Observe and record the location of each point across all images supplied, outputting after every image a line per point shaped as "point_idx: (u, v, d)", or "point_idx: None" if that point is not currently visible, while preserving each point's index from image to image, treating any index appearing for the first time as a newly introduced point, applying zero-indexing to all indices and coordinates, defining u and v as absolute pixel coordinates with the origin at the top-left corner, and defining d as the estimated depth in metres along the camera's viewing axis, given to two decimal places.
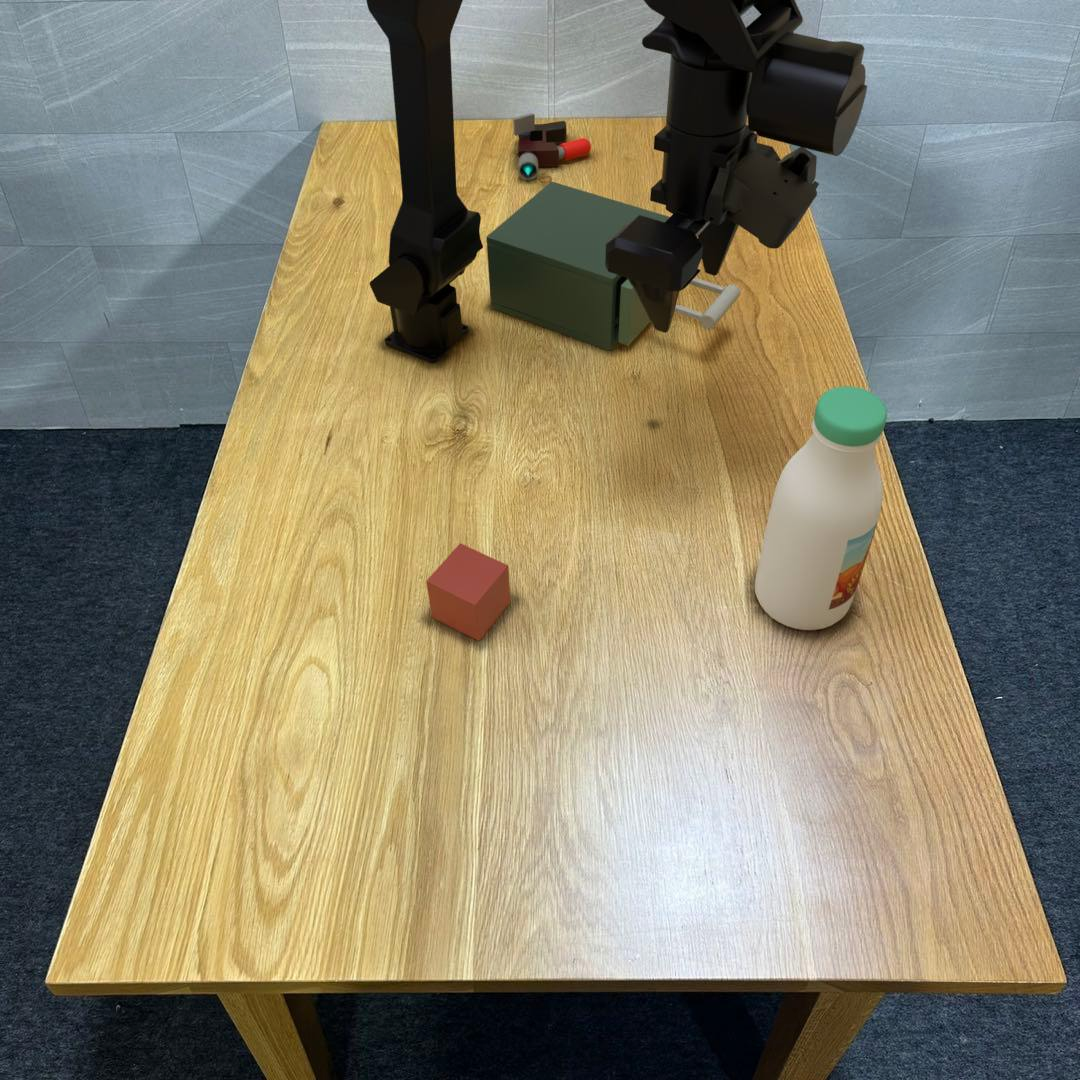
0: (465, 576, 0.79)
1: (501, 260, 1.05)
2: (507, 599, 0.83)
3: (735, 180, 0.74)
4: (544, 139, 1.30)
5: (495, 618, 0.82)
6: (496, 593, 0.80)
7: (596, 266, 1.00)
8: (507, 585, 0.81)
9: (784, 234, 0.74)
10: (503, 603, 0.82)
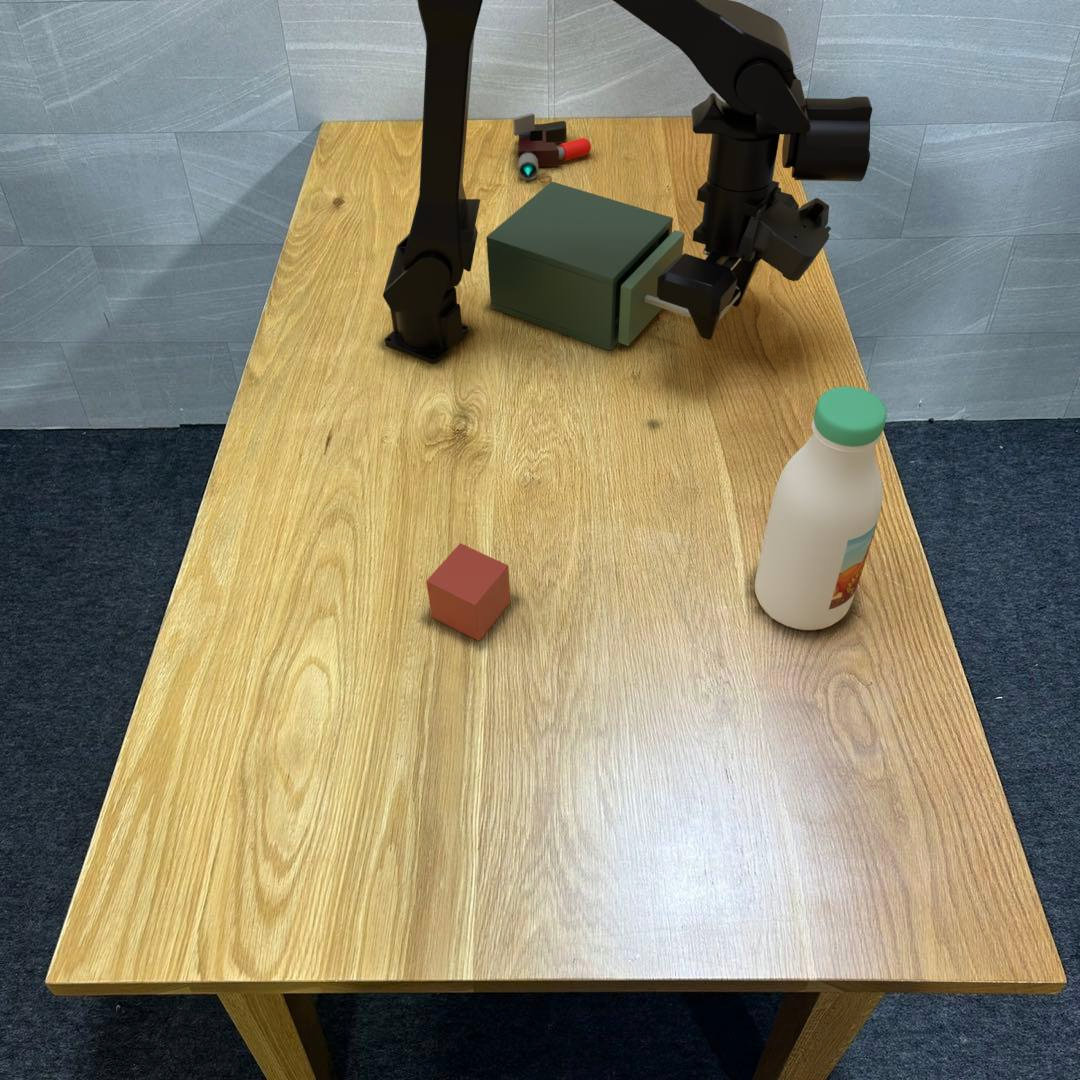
0: (465, 576, 0.79)
1: (501, 260, 1.05)
2: (507, 599, 0.83)
3: (763, 226, 0.91)
4: (544, 139, 1.30)
5: (495, 618, 0.82)
6: (496, 593, 0.80)
7: (596, 266, 1.00)
8: (507, 585, 0.81)
9: (803, 269, 0.92)
10: (503, 603, 0.82)
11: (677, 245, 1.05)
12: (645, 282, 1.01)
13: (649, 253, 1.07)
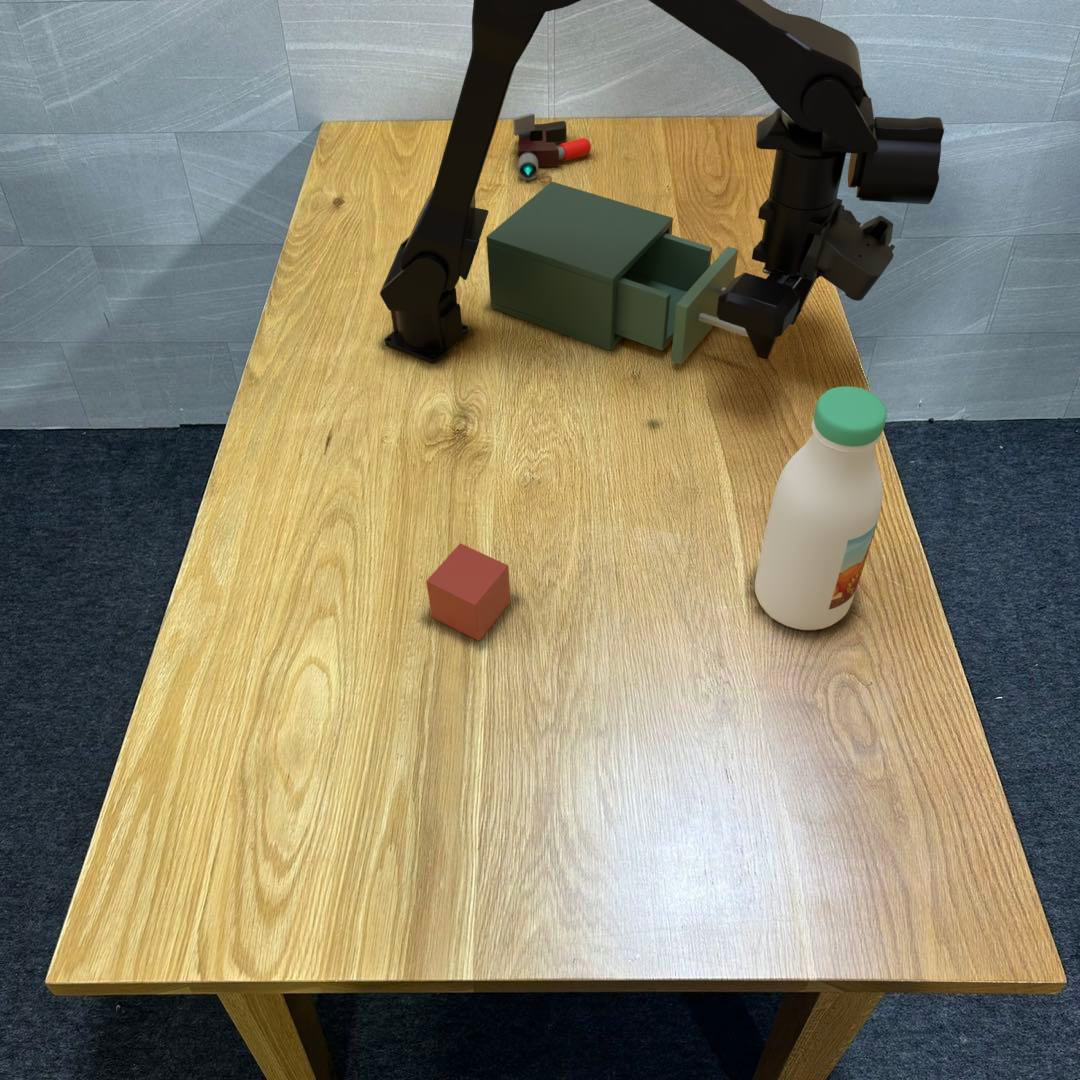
0: (465, 576, 0.79)
1: (501, 260, 1.05)
2: (507, 599, 0.83)
3: (827, 245, 0.89)
4: (544, 139, 1.30)
5: (495, 618, 0.82)
6: (496, 593, 0.80)
7: (596, 266, 1.00)
8: (507, 585, 0.81)
9: (867, 289, 0.90)
10: (503, 603, 0.82)
11: (731, 262, 1.03)
12: (700, 300, 0.99)
13: (701, 269, 1.05)
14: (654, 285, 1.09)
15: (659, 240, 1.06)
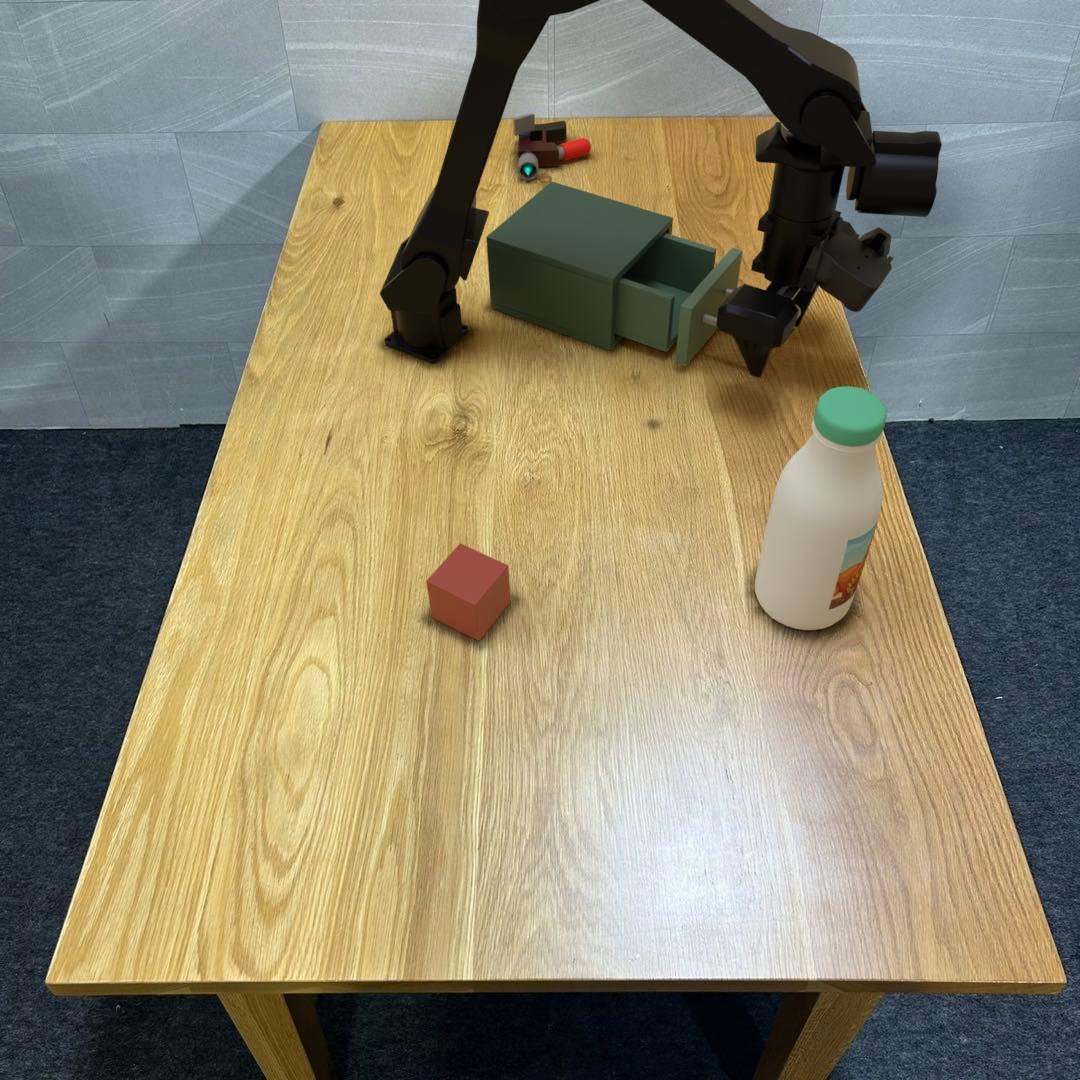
0: (465, 576, 0.79)
1: (501, 260, 1.05)
2: (507, 599, 0.83)
3: (826, 257, 0.90)
4: (544, 139, 1.30)
5: (495, 618, 0.82)
6: (496, 593, 0.80)
7: (596, 266, 1.00)
8: (507, 585, 0.81)
9: (865, 301, 0.90)
10: (503, 603, 0.82)
11: (735, 263, 1.02)
12: (704, 301, 0.99)
13: (705, 271, 1.05)
14: (658, 286, 1.09)
15: (663, 241, 1.05)
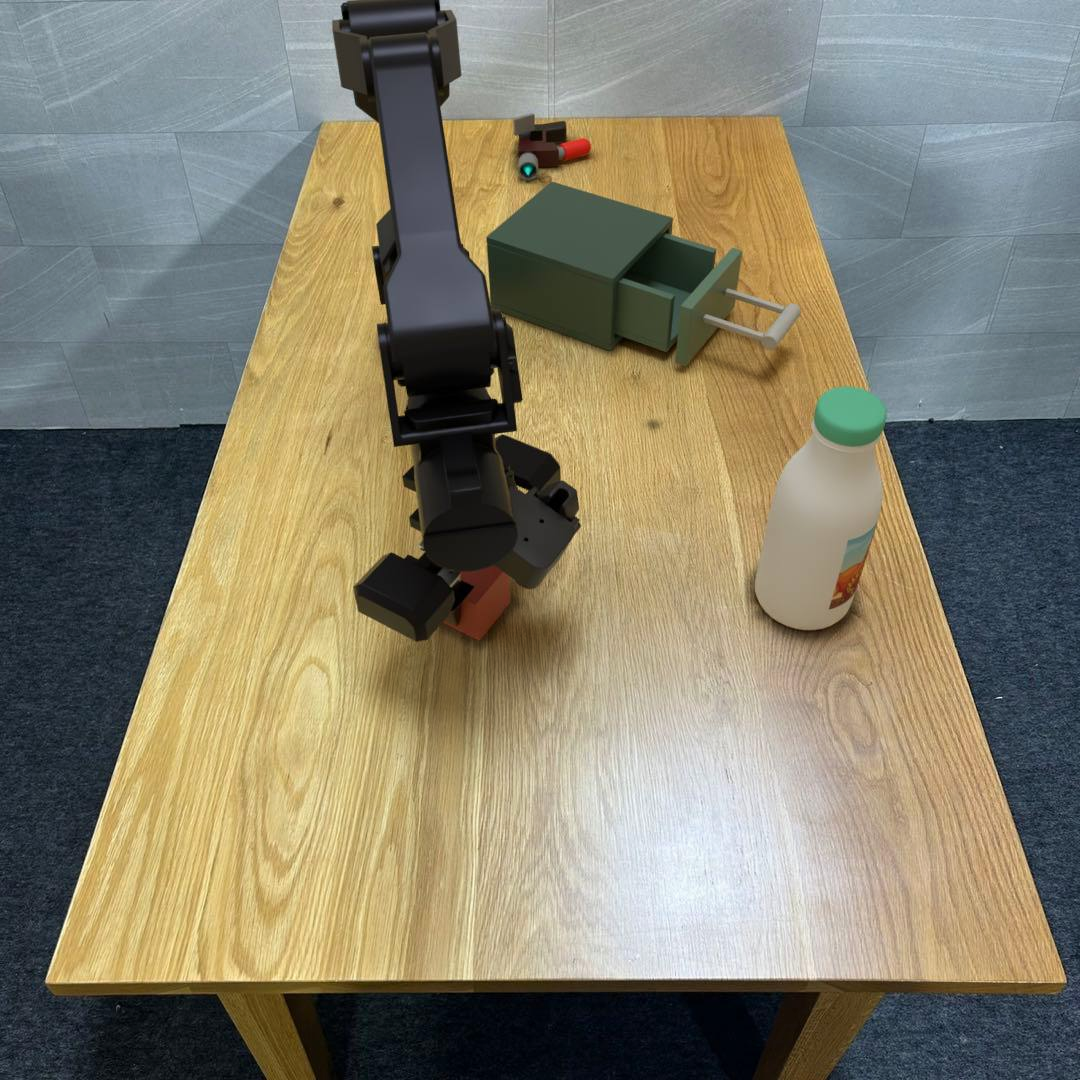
0: (465, 576, 0.79)
1: (501, 260, 1.05)
2: (507, 599, 0.83)
3: None
4: (544, 139, 1.30)
5: (495, 618, 0.82)
6: (496, 593, 0.80)
7: (596, 266, 1.00)
8: (507, 585, 0.81)
9: (538, 579, 0.71)
10: (503, 603, 0.82)
11: (735, 263, 1.02)
12: (704, 301, 0.99)
13: (705, 271, 1.05)
14: (658, 286, 1.09)
15: (663, 241, 1.05)
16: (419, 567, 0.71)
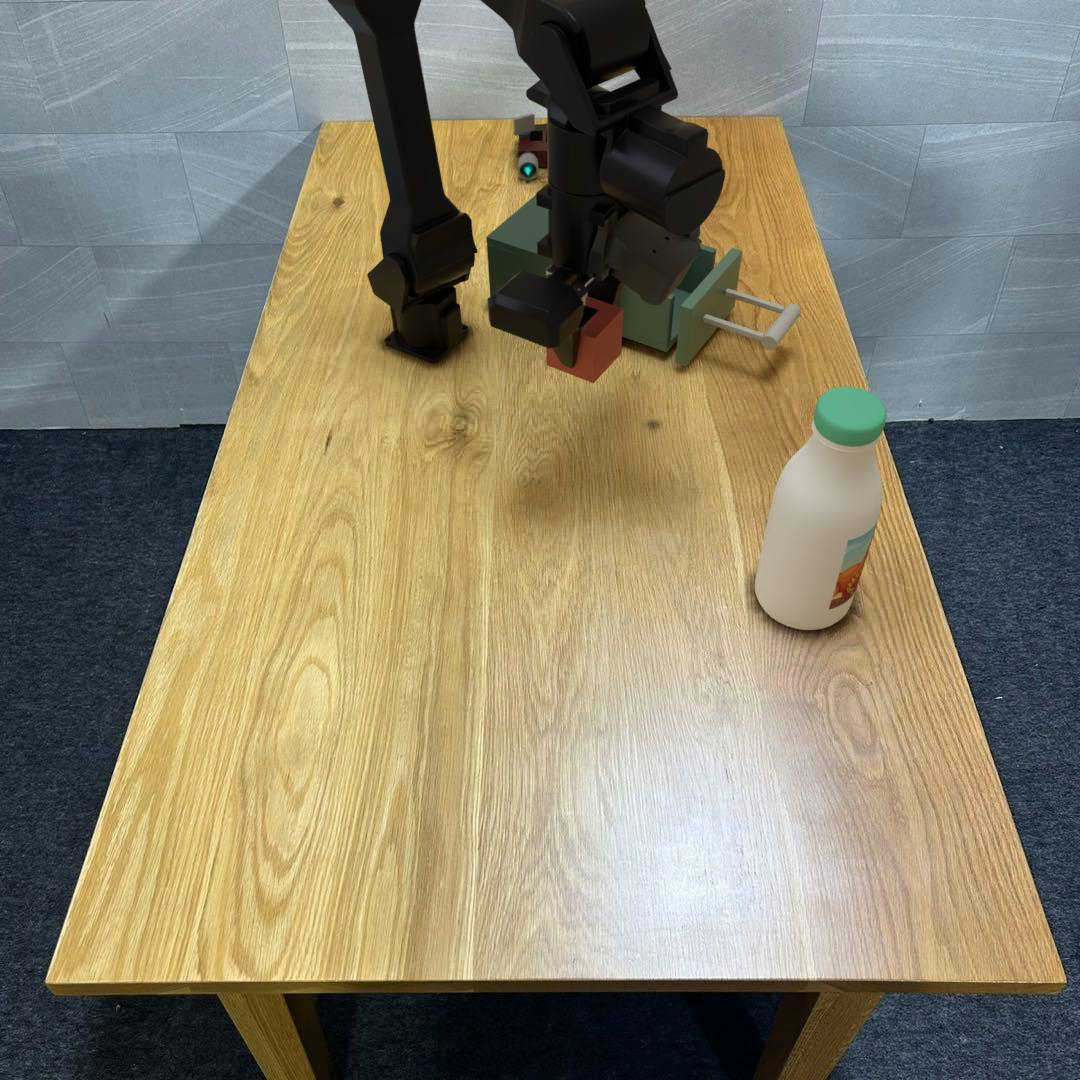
0: None
1: (501, 260, 1.05)
2: (619, 349, 0.86)
3: (614, 238, 0.74)
4: (544, 139, 1.30)
5: (608, 364, 0.86)
6: (611, 335, 0.84)
7: None
8: (620, 332, 0.85)
9: (664, 292, 0.75)
10: (615, 351, 0.86)
11: (735, 263, 1.02)
12: (704, 301, 0.99)
13: (705, 271, 1.05)
14: None
15: None
16: (550, 281, 0.75)
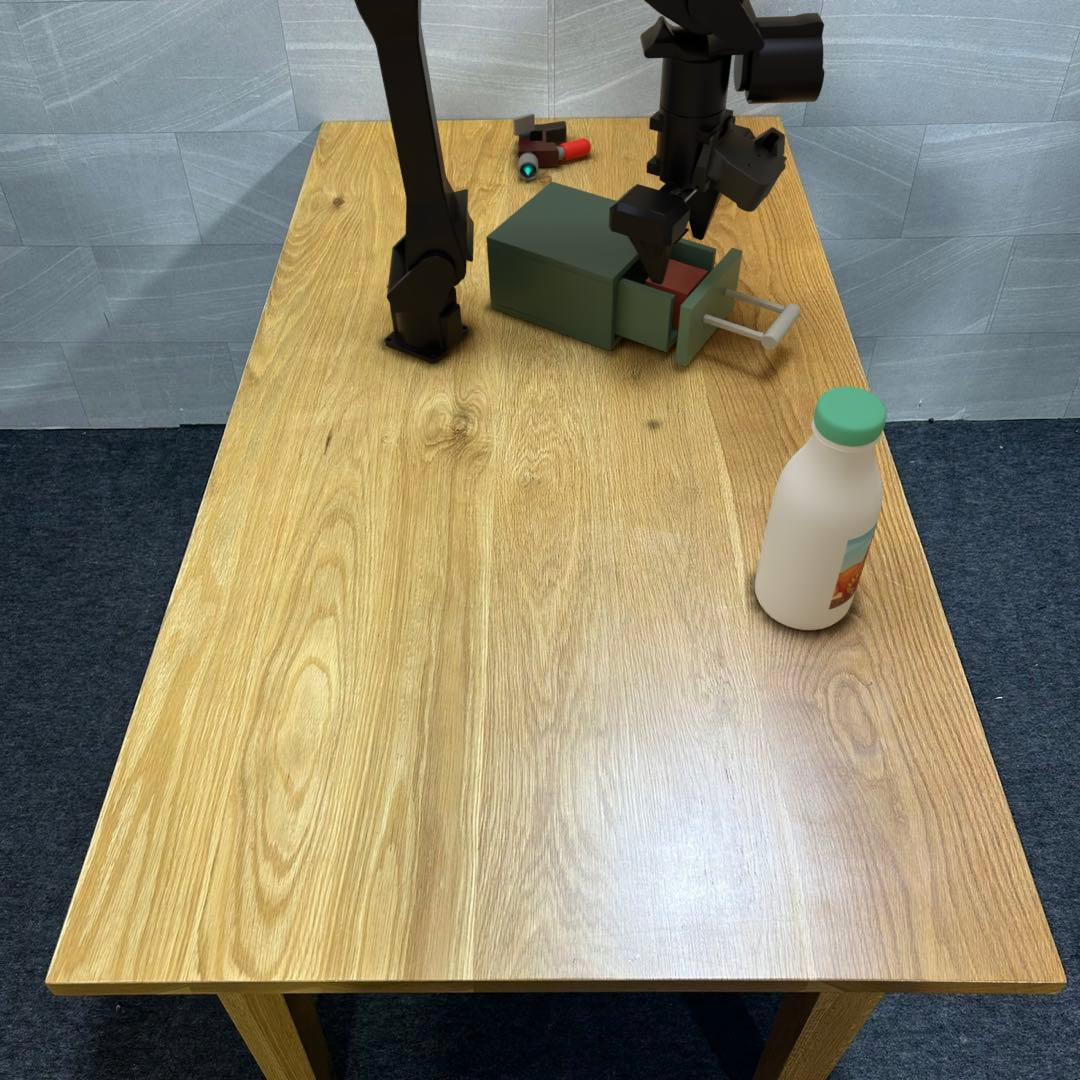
0: (675, 277, 1.02)
1: (501, 260, 1.05)
2: None
3: (716, 154, 0.89)
4: (544, 139, 1.30)
5: None
6: None
7: (596, 266, 1.00)
8: None
9: (757, 199, 0.90)
10: None
11: (735, 263, 1.02)
12: (704, 301, 0.99)
13: None
14: None
15: None
16: (662, 191, 0.90)
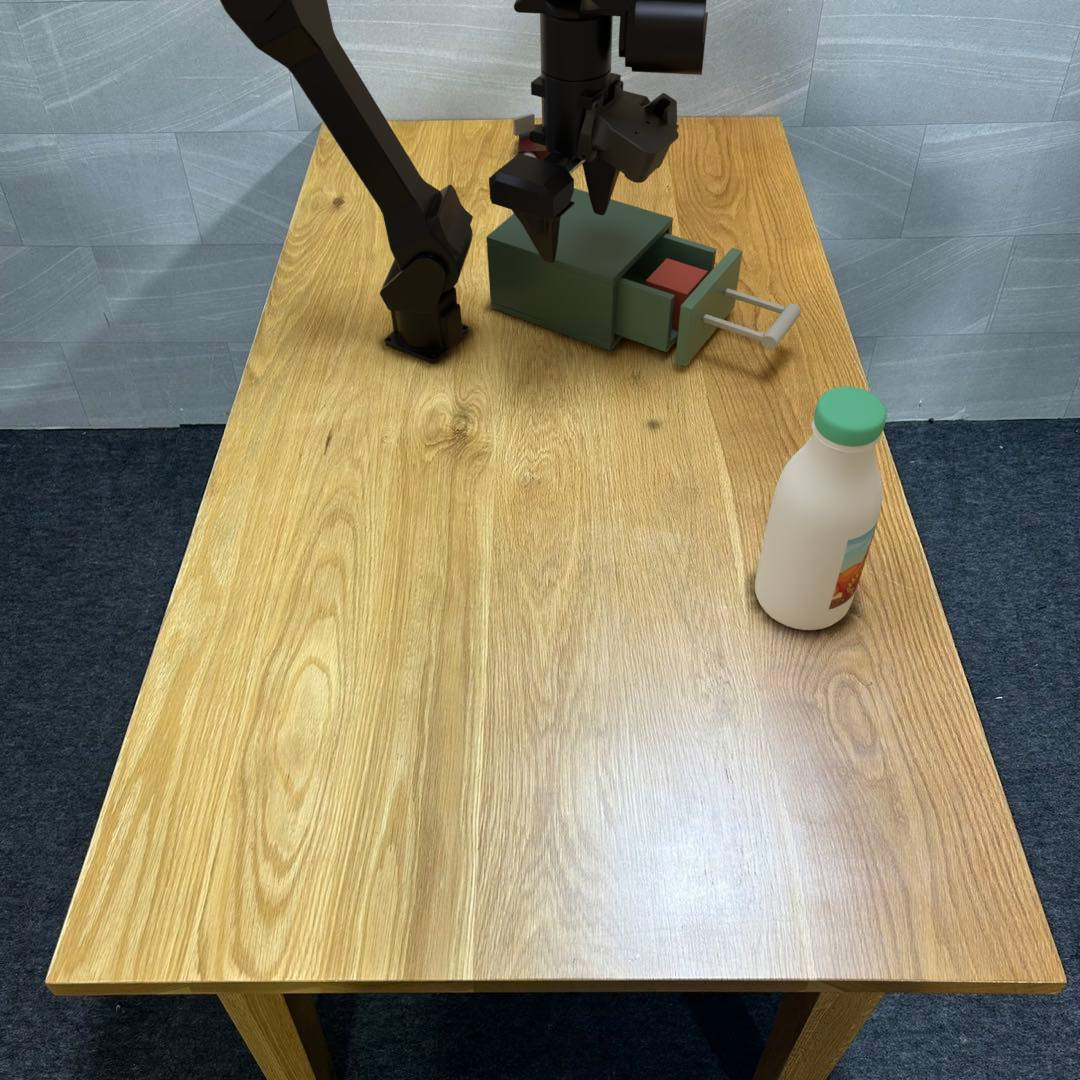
0: (675, 277, 1.02)
1: (501, 260, 1.05)
2: None
3: (601, 121, 0.83)
4: None
5: None
6: None
7: (596, 266, 1.00)
8: None
9: (645, 169, 0.84)
10: None
11: (735, 263, 1.02)
12: (704, 301, 0.99)
13: None
14: None
15: (663, 241, 1.05)
16: (544, 161, 0.85)
